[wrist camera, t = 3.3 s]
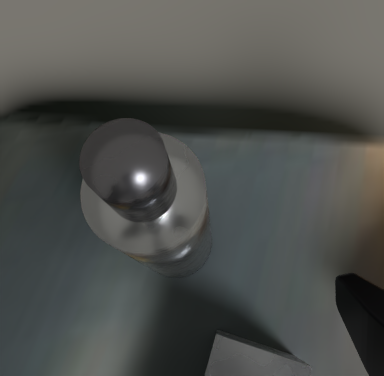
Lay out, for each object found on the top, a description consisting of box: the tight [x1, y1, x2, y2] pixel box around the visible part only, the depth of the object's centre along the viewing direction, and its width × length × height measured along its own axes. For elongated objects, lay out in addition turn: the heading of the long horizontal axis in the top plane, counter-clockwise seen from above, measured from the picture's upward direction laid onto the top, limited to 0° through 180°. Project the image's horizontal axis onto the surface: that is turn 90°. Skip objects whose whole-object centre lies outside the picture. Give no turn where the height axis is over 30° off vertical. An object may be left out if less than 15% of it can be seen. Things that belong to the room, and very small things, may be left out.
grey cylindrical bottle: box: [79, 118, 212, 278], centre depth 15 cm, size 4×4×12 cm
